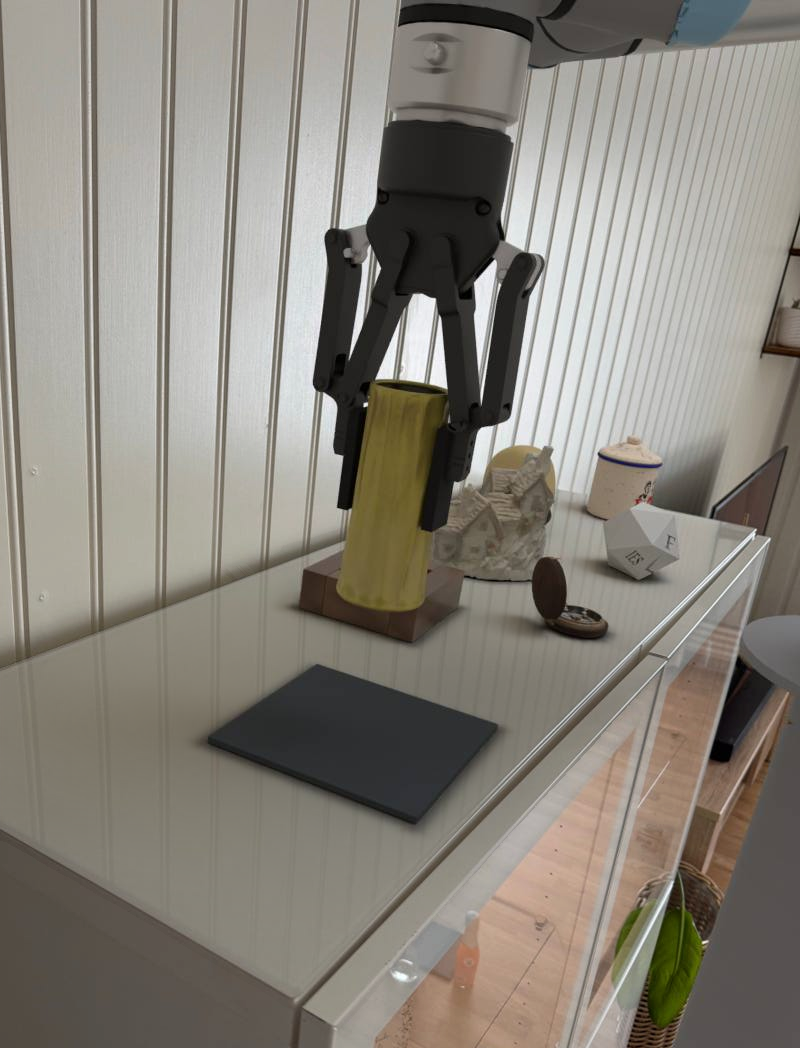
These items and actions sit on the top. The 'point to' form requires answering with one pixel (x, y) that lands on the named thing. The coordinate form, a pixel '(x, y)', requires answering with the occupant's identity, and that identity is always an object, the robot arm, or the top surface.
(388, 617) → the holder
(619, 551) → the die
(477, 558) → the ceramic cottage
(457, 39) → the robot arm
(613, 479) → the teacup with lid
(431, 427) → the vase
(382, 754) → the mat
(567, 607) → the compass
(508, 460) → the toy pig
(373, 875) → the top surface
